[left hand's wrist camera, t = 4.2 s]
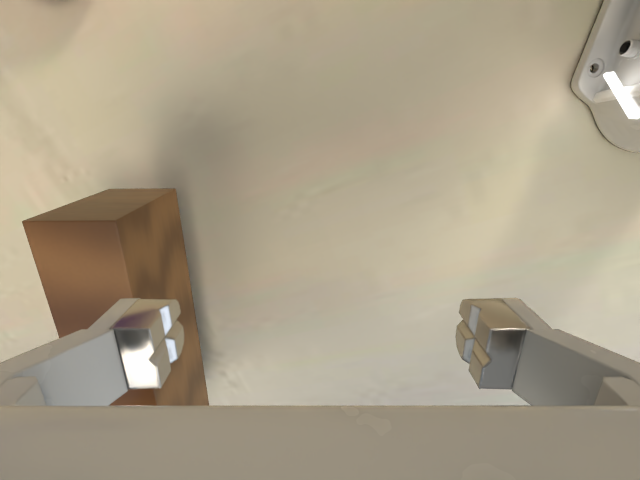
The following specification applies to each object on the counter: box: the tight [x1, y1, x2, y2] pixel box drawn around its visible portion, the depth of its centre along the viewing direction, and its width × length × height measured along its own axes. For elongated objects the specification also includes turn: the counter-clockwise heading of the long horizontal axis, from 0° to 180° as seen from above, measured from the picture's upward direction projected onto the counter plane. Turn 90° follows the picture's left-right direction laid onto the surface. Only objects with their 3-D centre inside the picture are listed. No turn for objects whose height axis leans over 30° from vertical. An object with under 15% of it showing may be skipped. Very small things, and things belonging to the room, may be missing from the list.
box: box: [22, 189, 209, 406], centre depth 32 cm, size 27×6×10 cm, turn 1°
